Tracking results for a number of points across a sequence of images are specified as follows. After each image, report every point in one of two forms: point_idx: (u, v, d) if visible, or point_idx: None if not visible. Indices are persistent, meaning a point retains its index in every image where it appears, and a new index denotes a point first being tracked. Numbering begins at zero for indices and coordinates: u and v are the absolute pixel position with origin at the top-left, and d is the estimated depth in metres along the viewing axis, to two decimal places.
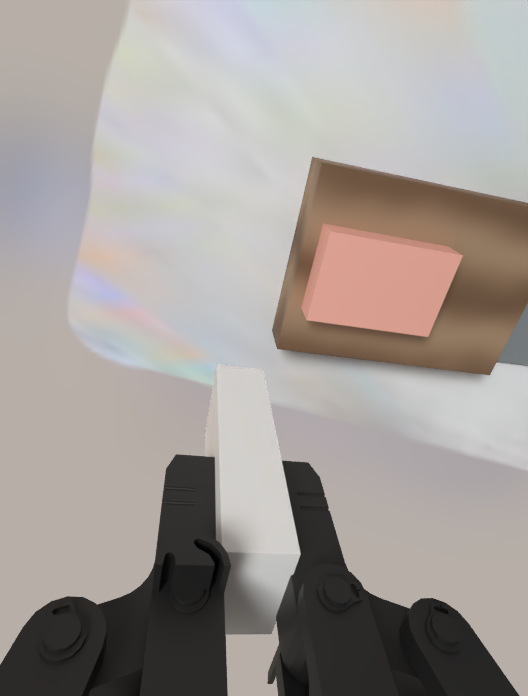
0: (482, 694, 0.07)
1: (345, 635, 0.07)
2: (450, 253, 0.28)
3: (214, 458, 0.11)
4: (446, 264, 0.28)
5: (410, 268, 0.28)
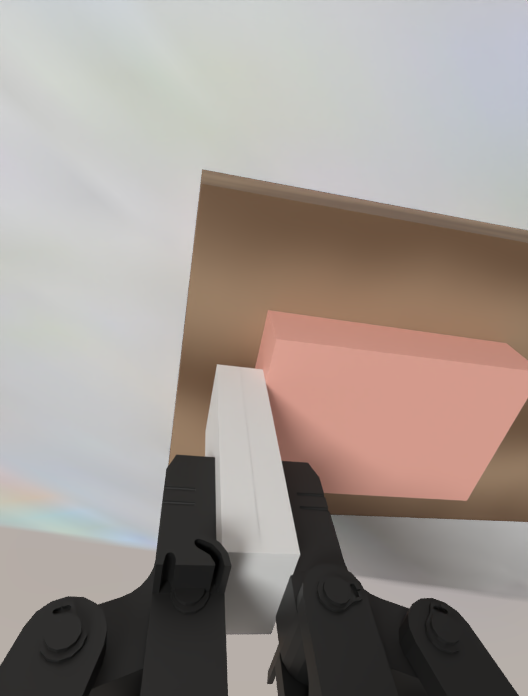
0: (481, 694, 0.07)
1: (345, 635, 0.07)
2: (518, 369, 0.14)
3: (214, 458, 0.11)
4: (509, 388, 0.14)
5: (439, 398, 0.14)
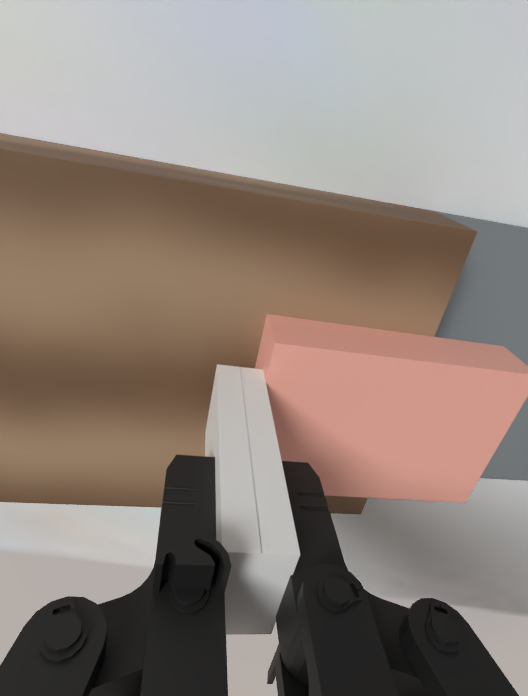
0: (482, 694, 0.07)
1: (345, 635, 0.07)
2: (515, 372, 0.14)
3: (214, 458, 0.11)
4: (506, 391, 0.14)
5: (436, 401, 0.14)
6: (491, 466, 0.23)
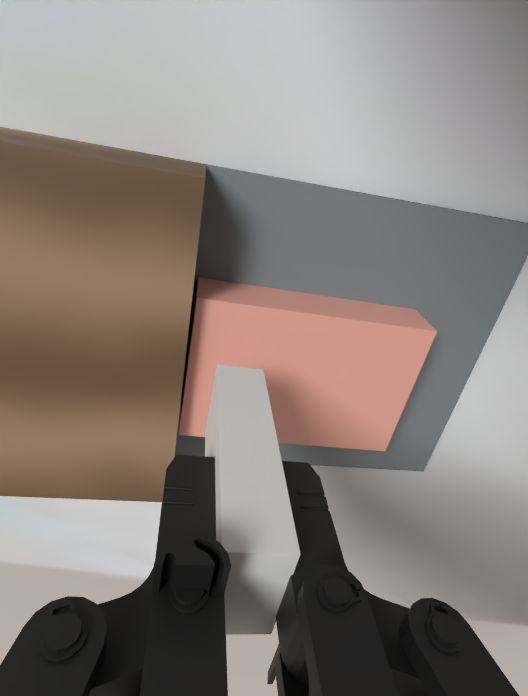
0: (482, 694, 0.07)
1: (345, 635, 0.07)
2: (415, 328, 0.16)
3: (214, 458, 0.11)
4: (408, 345, 0.16)
5: (346, 354, 0.16)
6: (340, 453, 0.22)
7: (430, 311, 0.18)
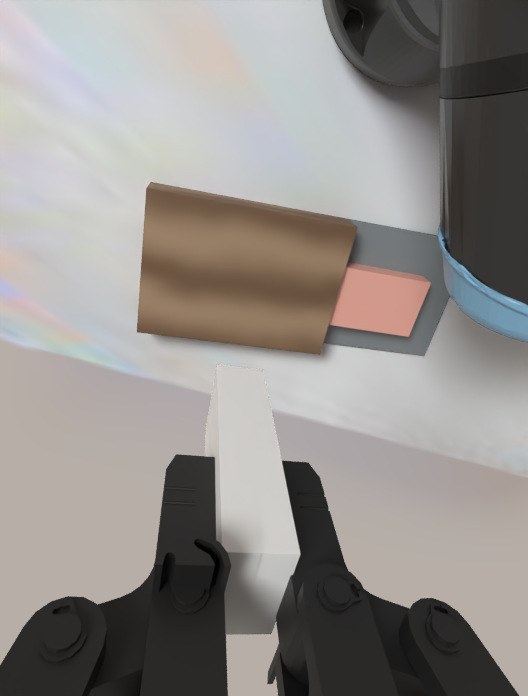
0: (482, 694, 0.07)
1: (345, 635, 0.07)
2: (422, 281, 0.42)
3: (214, 458, 0.11)
4: (420, 288, 0.42)
5: (396, 291, 0.42)
6: (386, 343, 0.47)
7: (428, 277, 0.44)
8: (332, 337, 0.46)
